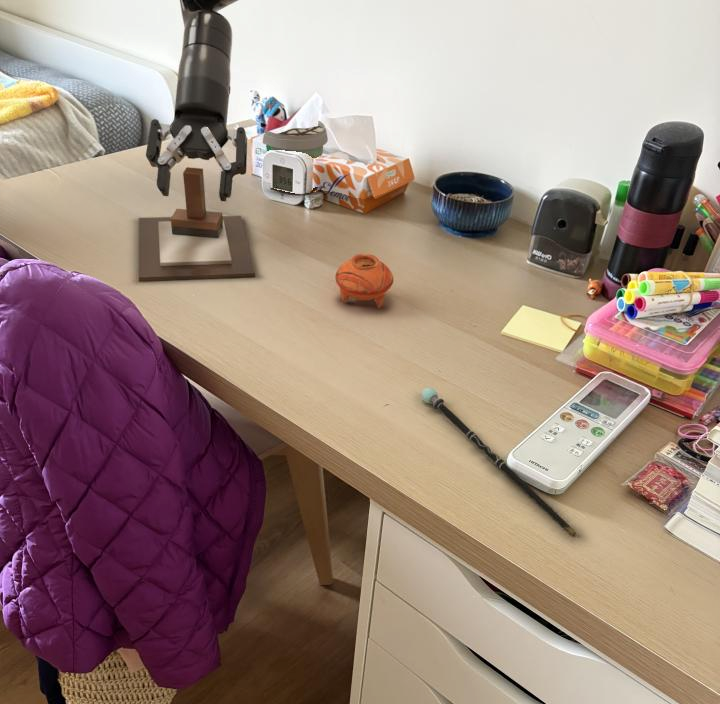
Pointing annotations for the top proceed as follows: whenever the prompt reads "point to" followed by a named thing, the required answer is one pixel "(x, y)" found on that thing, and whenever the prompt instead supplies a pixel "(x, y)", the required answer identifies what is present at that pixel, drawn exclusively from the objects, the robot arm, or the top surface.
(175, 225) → the brown t-shaped stand
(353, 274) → the pot
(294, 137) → the food container
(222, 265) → the tile board
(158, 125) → the robot arm
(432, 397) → the black stick
